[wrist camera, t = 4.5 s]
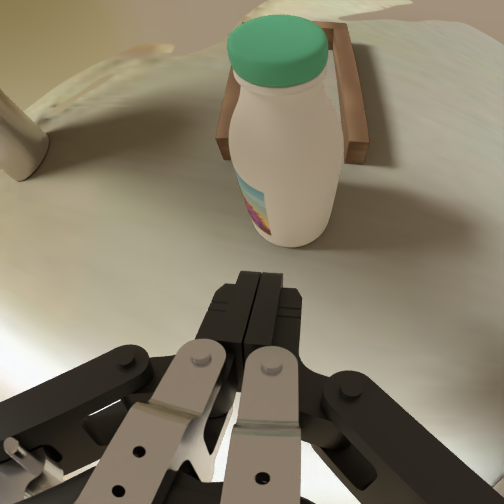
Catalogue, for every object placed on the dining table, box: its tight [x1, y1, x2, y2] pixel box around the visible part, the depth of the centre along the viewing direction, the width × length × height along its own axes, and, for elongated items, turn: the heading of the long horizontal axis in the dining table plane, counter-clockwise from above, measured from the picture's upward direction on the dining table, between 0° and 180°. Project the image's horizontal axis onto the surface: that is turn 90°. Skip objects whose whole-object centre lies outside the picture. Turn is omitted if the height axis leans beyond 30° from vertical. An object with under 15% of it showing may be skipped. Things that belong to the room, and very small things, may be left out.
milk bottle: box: [227, 15, 344, 247], centre depth 20 cm, size 8×8×20 cm
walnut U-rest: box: [215, 21, 369, 165], centre depth 33 cm, size 15×23×4 cm, turn 174°
